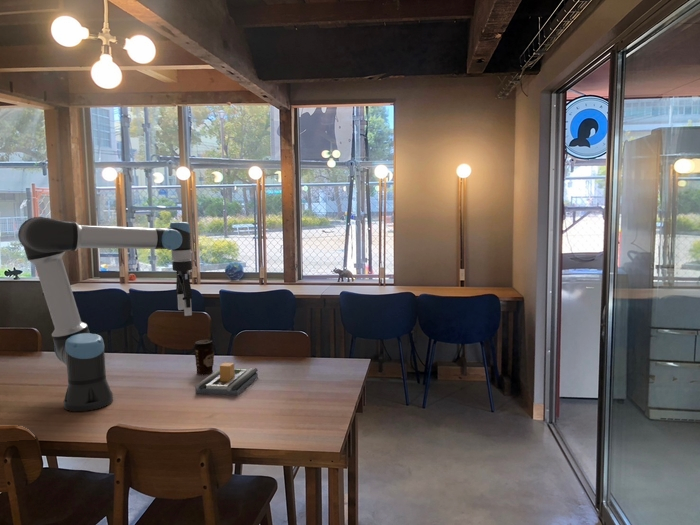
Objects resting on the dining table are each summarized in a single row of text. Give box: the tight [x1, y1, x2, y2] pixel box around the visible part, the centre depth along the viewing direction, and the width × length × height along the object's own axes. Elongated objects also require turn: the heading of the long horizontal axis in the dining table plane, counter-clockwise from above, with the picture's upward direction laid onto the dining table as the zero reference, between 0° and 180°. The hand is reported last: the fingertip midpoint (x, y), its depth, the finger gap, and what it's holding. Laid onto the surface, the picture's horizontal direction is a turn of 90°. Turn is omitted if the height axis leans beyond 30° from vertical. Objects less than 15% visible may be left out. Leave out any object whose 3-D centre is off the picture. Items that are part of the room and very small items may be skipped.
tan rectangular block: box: [219, 362, 235, 382], centre depth 199 cm, size 4×4×6 cm
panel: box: [194, 368, 258, 397], centre depth 199 cm, size 20×16×3 cm
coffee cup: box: [192, 339, 216, 376], centre depth 214 cm, size 9×8×13 cm
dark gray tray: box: [194, 367, 258, 391], centre depth 199 cm, size 22×15×1 cm
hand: (184, 312), depth 216 cm, fingers open, 13 cm apart
